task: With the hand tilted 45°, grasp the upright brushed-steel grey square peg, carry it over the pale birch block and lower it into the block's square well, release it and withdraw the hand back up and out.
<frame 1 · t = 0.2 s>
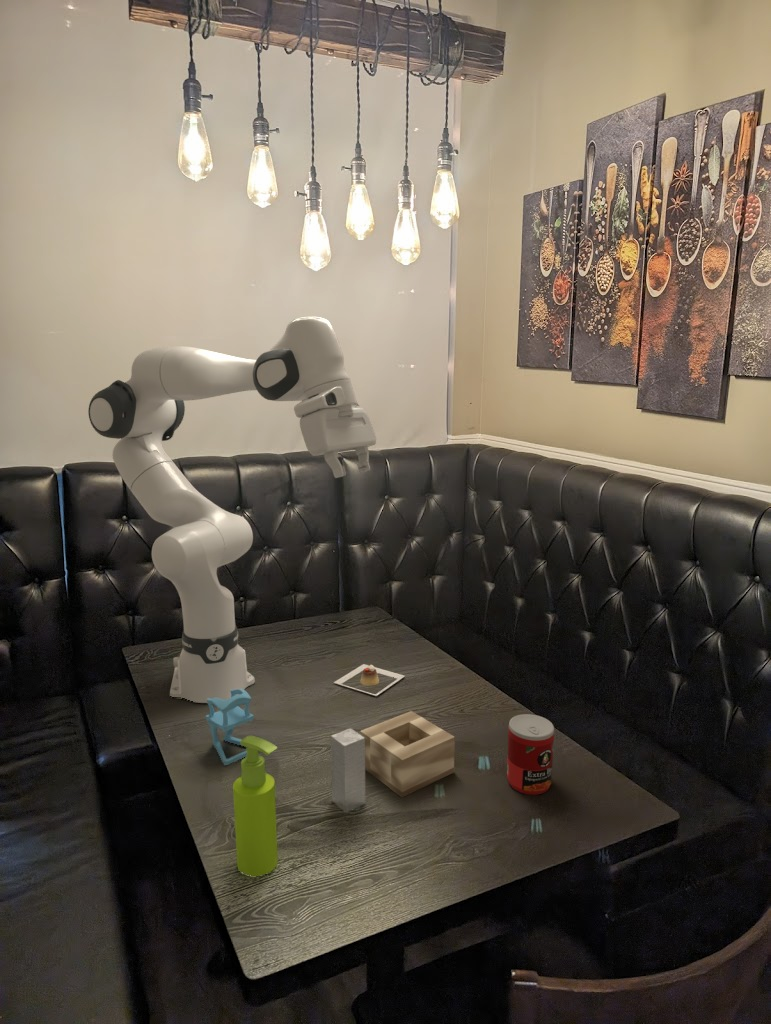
hand: (353, 474, 129), 52 cm above the table, tool tilted 20°, fingers open, 8 cm apart
grey square peg: (348, 802, 117), on the table
canned food: (528, 783, 123), on the table
dessert: (369, 684, 162), on the table
chair: (231, 750, 133), on the table
well: (406, 769, 127), on the table
soap dispenser: (260, 865, 103), on the table
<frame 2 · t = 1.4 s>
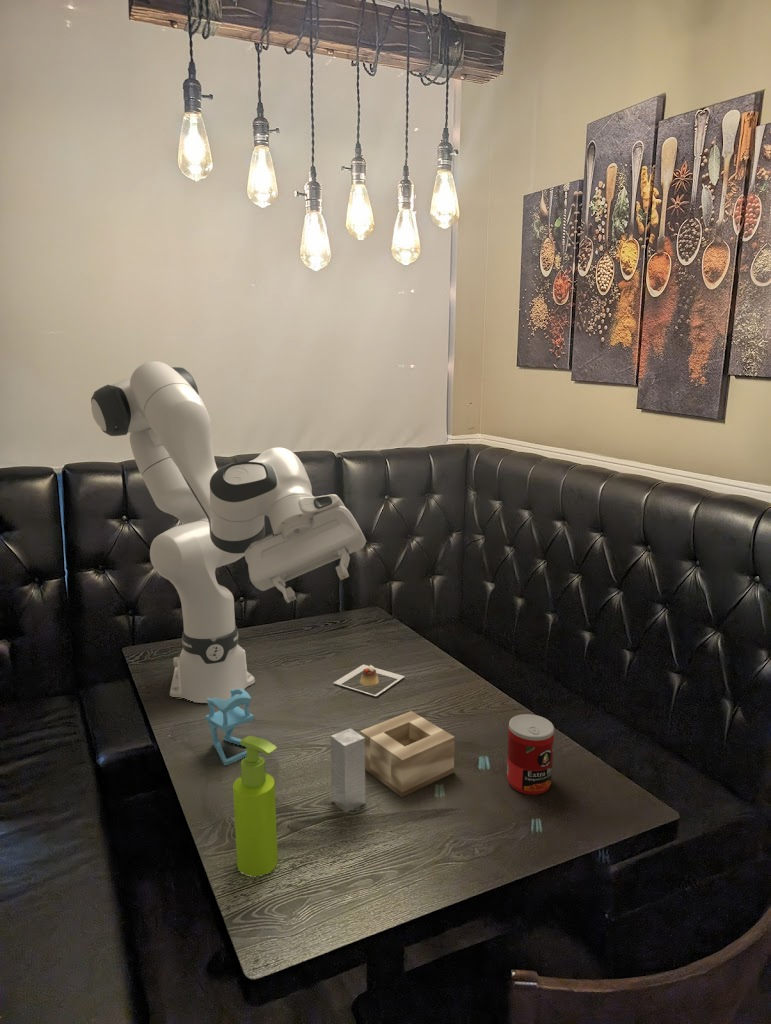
hand: (317, 588, 113), 36 cm above the table, tool tilted 50°, fingers open, 8 cm apart
nothing on the table moved.
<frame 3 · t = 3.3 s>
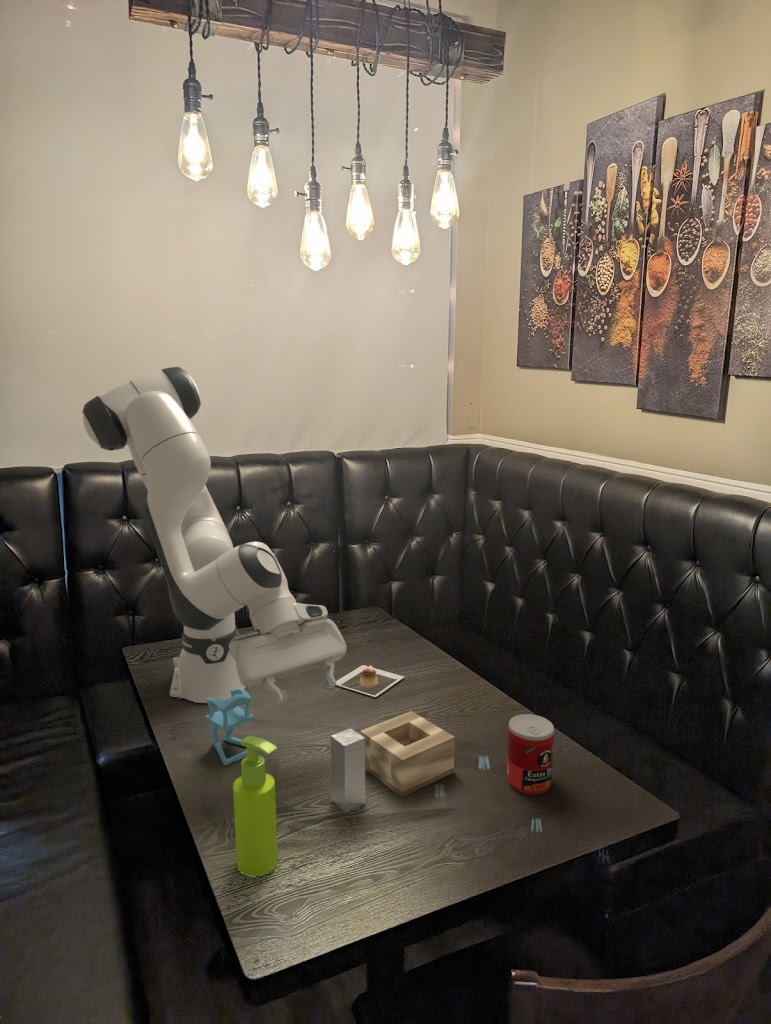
hand: (308, 694, 121), 16 cm above the table, tool tilted 45°, fingers open, 8 cm apart
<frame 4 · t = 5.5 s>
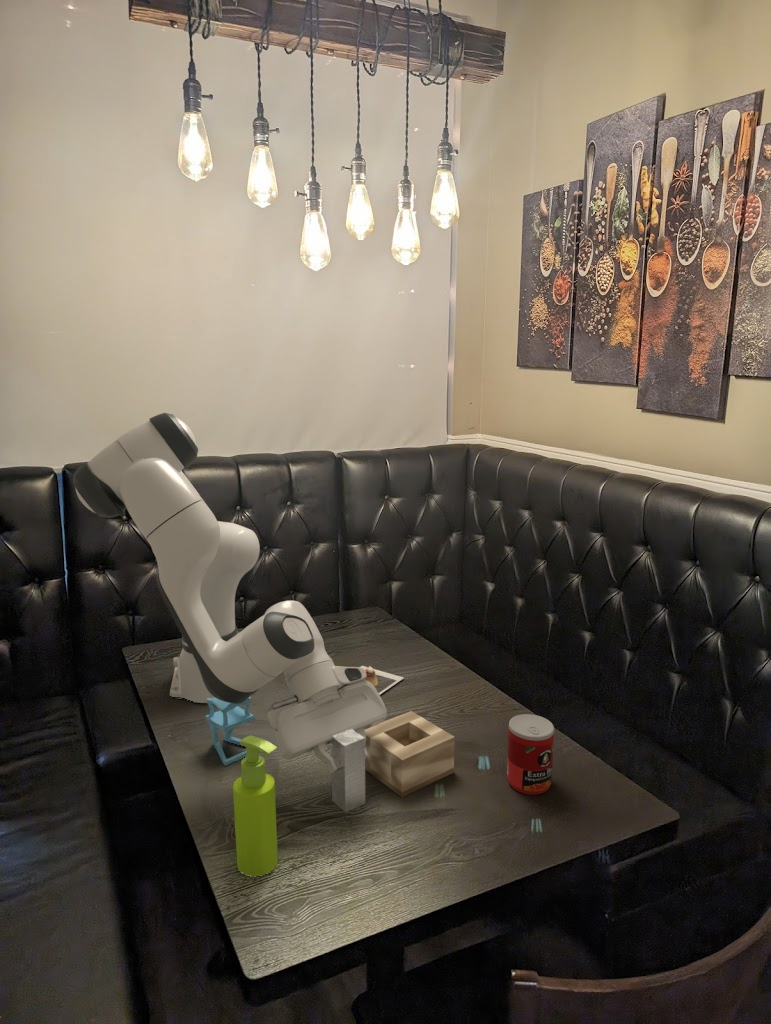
hand: (350, 764, 115), 7 cm above the table, tool tilted 45°, fingers closed on grey square peg, 4 cm apart
grey square peg: (348, 802, 117), on the table, touching gripper
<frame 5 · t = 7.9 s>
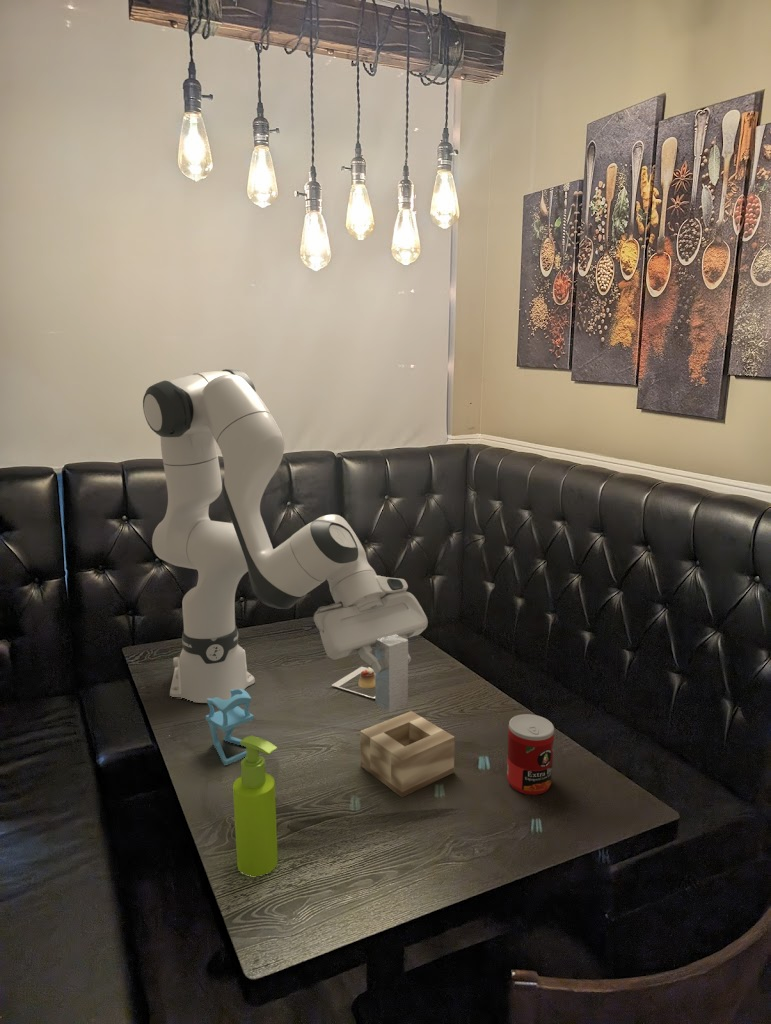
hand: (393, 667, 119), 21 cm above the table, tool tilted 45°, fingers closed on grey square peg, 4 cm apart
grey square peg: (391, 704, 121), point 14 cm above the table, touching gripper
when the fingers open (10 cm above the table, at t = 10.8 s): grey square peg drops 1 cm, resting on well.
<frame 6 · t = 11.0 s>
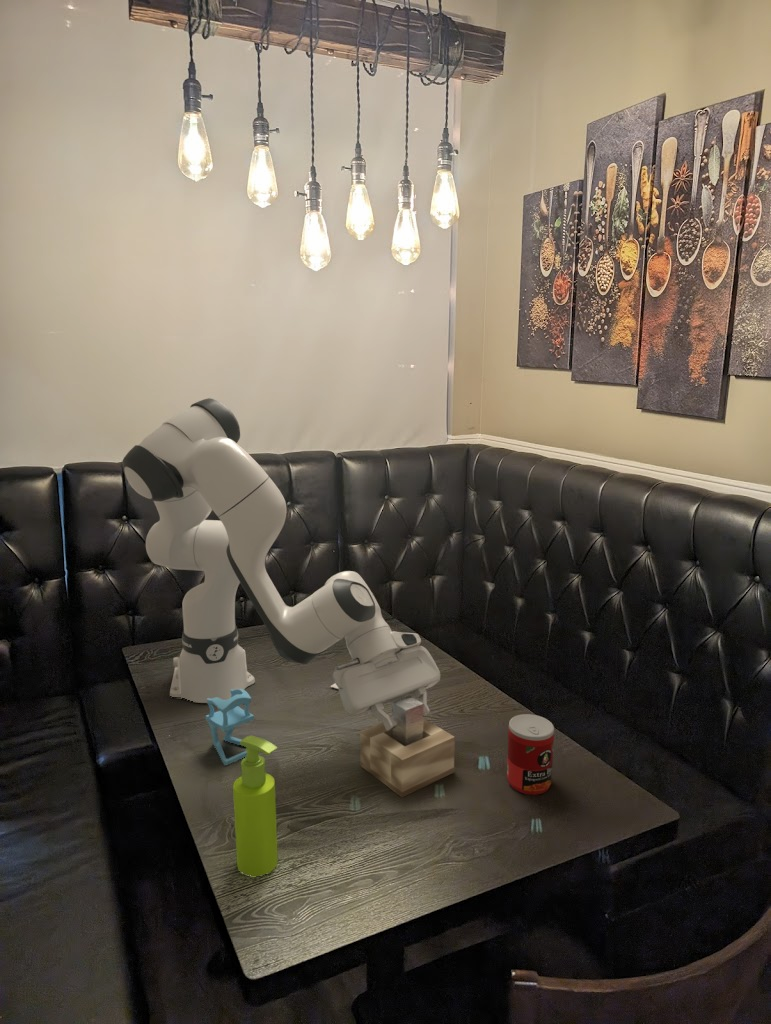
hand: (409, 721, 124), 10 cm above the table, tool tilted 45°, fingers open, 6 cm apart
grey square peg: (407, 764, 126), point 1 cm above the table, touching well
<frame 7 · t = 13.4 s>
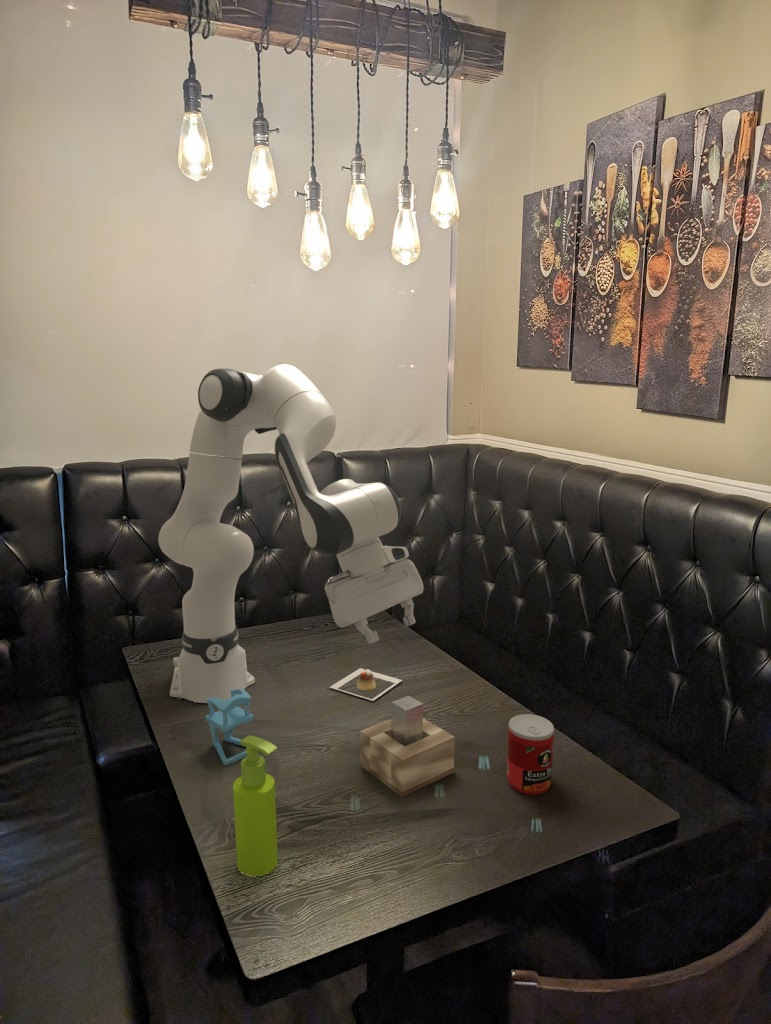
hand: (393, 633, 130), 23 cm above the table, tool tilted 30°, fingers open, 8 cm apart
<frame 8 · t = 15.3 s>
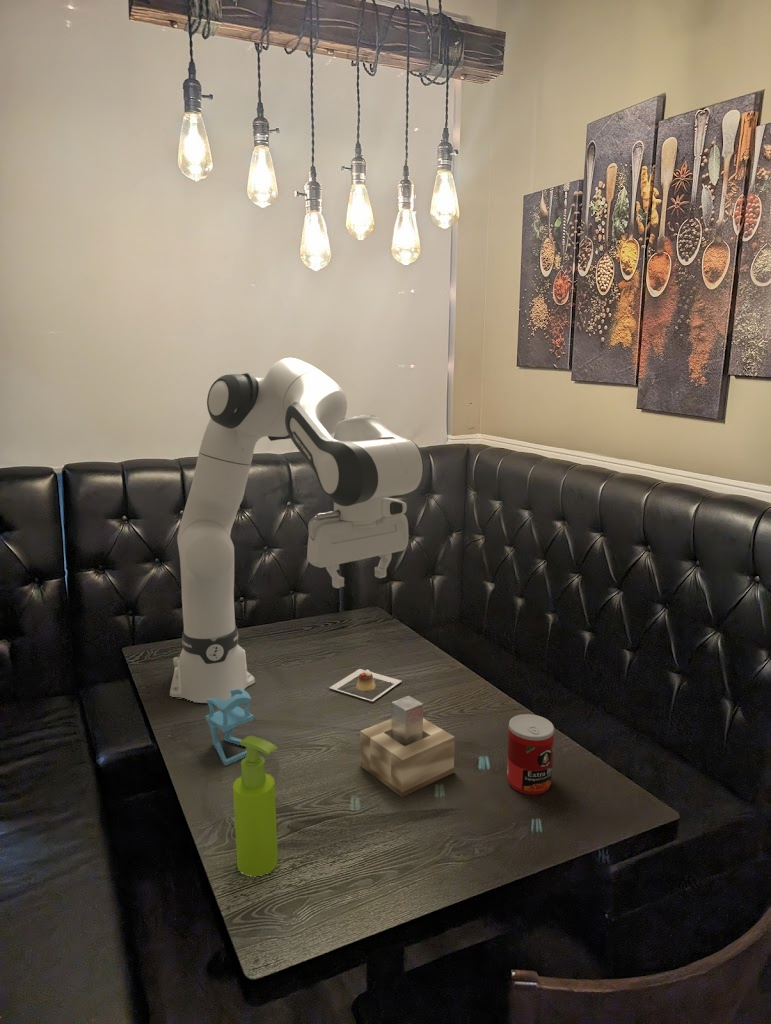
hand: (359, 581, 127), 33 cm above the table, tool pointing down, fingers open, 8 cm apart
at the end: grey square peg 0.0 cm off-centre on the well, point 1.0 cm above the well's base; grey square peg tilted 0°; the gripper is holding nothing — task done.
